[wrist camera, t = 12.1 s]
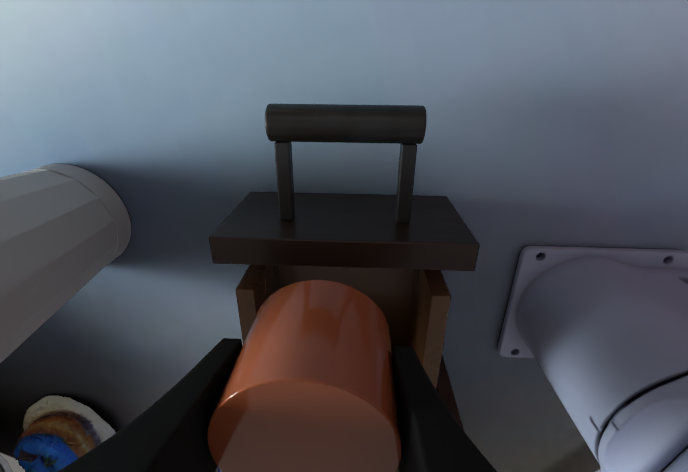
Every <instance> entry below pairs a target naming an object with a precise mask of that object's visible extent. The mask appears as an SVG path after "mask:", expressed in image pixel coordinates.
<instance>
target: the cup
mask: <svg viewBox="0 0 688 472" xmlns="http://www.w3.org/2000/svg"><path fill="white" fill-rule="evenodd" d="M130 236H131V223H130V218H129V215H128V212H127V210H126V207H125V205H124V204H123V202H122V200H121V199H120V197H119V196H118V195H117V193H116V192H115V191H114V190H113V189H112V188H111V187H110V186H109V185H108V184H107V183H106V182H105V181H103V180H102V179H101V178H99V177H98V176H96V175H95V174H93V173H91V172H89V171H87V170H85V169H83V168H80V167H77V166H73V165H68V164H50V165H46V166H43V167H39V168H36V169H33V170H29V171H26V172H23V173H18V174H13V175H8V176H3V177H0V363H1V362H2V361H3V360H5V359H6V358H7V357H8V356H9V355H10V354H11V353H12V352H13V351H14V350H15V349H16V348H17V347H19V346H20V345H21V344H22V343H23V342H24V341H25V340H26V339H27V338H28V337H29V336H30V335H32V334H33V333H34V332H35V331H36V330H37V329H38V328H39V327H40V326H41V325H42V324H43V323H44V322H46V321H47V320H48V319H49V318H50V317H51V316H52V315H53V314H54V313H55V312H56V311H57V310H59V309H60V308H61V307H62V306H63V305H64V304H65V303H66V302H67V301H68V300H69V299H70V298H71V297H73V296H74V295H75V294H76V293H77V292H78V291H79V290H80V289H81V288H82V287H83V286H84V285H86V284H87V283H88V282H89V281H90V280H91V279H92V278H93V277H94V276H95V275H96V274H97V273H98V272H100V271H101V270H102V269H103V268H104V267H105V266H106V265H108V264H109V263H110V262H112V261H113V260H114V259H115V258H117V257H118V256H119V255H121V254H122V253H123V252H124V250H125V249H126V247H127V246H128V243H129V241H130Z"/></svg>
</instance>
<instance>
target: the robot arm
mask: <svg viewBox="0 0 688 472" xmlns="http://www.w3.org/2000/svg"><path fill="white" fill-rule="evenodd" d="M539 253H542V255H541V256H540V257H537V258H536V256H537V254H539ZM667 256H668V257H667ZM666 257H667V259H665V260H664V258H666ZM663 260H664V261H663ZM241 348H242V342H241V339H228V338H224V339H222V340H221V341H220V342H219V343H218V344H217V345H216V346H215V347H214V348H213V349H212V350H211V351H210V352H209V353H208V354H207V355H206V356H205V357H204V358H203V359H202V360H201V361H200V362H199V363H198V364H197V365H196V366H195V367H194V368H193V369H192V370H191V371H190V372H189V373H187V374H186V375H185V376H184V377H183V378H182V379H181V380H180V381H179V382H178V383H177V384H176V385H175V386H174V387H172V388H171V389H170V390H169V391H168V392H167V393H166V394H164V395H163V396H162V397H161V398H160V399H159V400H158V401H156V402H155V403H154V404H153V405H152V406H151V407H149V408H148V409H147V410H146V411H144V412H143V413H142V414H141V415H139V416H138V417H137V418H136V419H134V420H133V421H132V422H130V423H129V424H128V425H126V426H125V427H124V428H122V429H121V430H120V431H118V432H117V433H116V434H114V435H113V436H111V437H110V438H108V439H107V440H105V441H104V442H102V443H101V444H99V445H98V446H96V447H95V448H93V449H92V450H90V451H89V452H87V453H86V454H84V455H83V456H82V457H80V458H78V459H77V460H75V461H74V462H72V463H70V464H69V465H67V466H66V467H64V468H62V469H61V470H59V471H57V472H216V469H217V467H218V466H217V465H216V463H215V462H214V460H213V458H212V456H211V453H210V450H209V447H208V439H207V434H208V426H209V423H210V419H211V417H212V415H213V412H214V410H215V408H216V406H217V403H218V401H219V399H220V396H221V394H222V392H223V390H224V387H225V385H226V383H227V380H228V378H229V376H230V374H231V371H232V369H233V367H234V364H235V362H236V360H237V358H238V355H239V353H240V351H241ZM513 349H516V350H514V351H512V350H513ZM498 352H499V354H500V355H501V356H502V357H515V358H535V359H536V361H537V362H538V364H539V366H540V367H541V369H542V371H543V372H544V374H545V376H546V377H547V379H548V381H549V382H550V384H551V385H552V387H553V389H554V390H555V392H556V394H557V395H558V397H559V399H560V400H561V402H562V404H563V405H564V407H565V409H566V410H567V412H568V413H569V415H570V417H571V418H572V420H573V422H574V423H575V425H576V427H577V428H578V430H579V432H580V433H581V435H582V437H583V438H584V440H585V441H586V443H587V445H588V446H589V448H590V450H591V451H592V453H593V455H594V456H595V458H596V460H597V461H598V463H599V464H600V467H601V471H600V472H688V250H668V249H631V248H593V247H556V246H527V247H525V248H524V249H523V250H522V251H521V253H520V257H519V261H518V265H517V269H516V274H515V278H514V282H513V286H512V290H511V294H510V298H509V302H508V307H507V311H506V315H505V319H504V323H503V327H502V331H501V335H500V340H499V344H498ZM393 367H394V376H395V385H396V394H397V403H398V413H399V422H400V432H401V441H402V457H401V462H400V465H399V467H398V469H399V472H497V471H496V470H495V469H494V468H493V466H492V465H491V464H490V463H489V462H488V461H487V459H486V458H485V457H484V456H483V455H482V454H481V452H480V451H479V450H478V449H477V447H476V446H475V445H474V444H473V442H472V441H471V440H470V439H469V437H468V436H467V435H466V433H465V432H464V431H463V429H462V428H461V427H460V425H459V424H458V422H457V421H456V420H455V418H454V417H453V415H452V414H451V412H450V411H449V409H448V408H447V406H446V405H445V403H444V402H443V400H442V399H441V397H440V395H439V394H438V392H437V391H436V389H435V387H434V386H433V384H432V382H431V381H430V379H429V377H428V375H427V373H426V372H425V370H424V368H423V366H422V364H421V362H420V360H419V358H418V356H417V354H416V351H415V349H414V348H413V347H404V346H394V350H393Z"/></svg>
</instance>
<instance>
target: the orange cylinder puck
mask: <svg viewBox="0 0 688 472" xmlns="http://www.w3.org/2000/svg"><path fill="white" fill-rule="evenodd" d="M207 439H208V447H209V450H210V453H211V456H212V458H213V460H214V462H215V463H216V465H217V466H218V467H219V469H220V470H221V471H222V472H397V470H398V467H399V465H400V462H401V457H402V441H401V432H400V422H399V413H398V403H397V394H396V385H395V376H394V367H393V356H392V347H391V337H390V330H389V326H388V323H387V320H386V318H385V316H384V314H383V313H382V311H381V310H380V308H379V307H378V306H377V305H376V304H375V303H374V302H373V301H372V300H371V299H370V298H369V297H368V296H366V295H365V294H363V293H362V292H360V291H359V290H357V289H355V288H353V287H350V286H348V285H345V284H342V283H339V282H334V281H328V280H307V281H301V282H297V283H293V284H290V285H288V286H285V287H283V288H281V289H280V290H278V291H276V292H275V293H273V294H272V295H271V296H270V297H269V298H268V299H267V300H266V301H265V302H264V303H263V304H262V306H261V307H260V308H259V310H258V312H257V314H256V316H255V319H254V321H253V323H252V326H251V328H250V330H249V332H248V335H247V337H246V339H245V342H244V344H243V346H242V348H241V351H240V353H239V355H238V358H237V360H236V362H235V364H234V367H233V369H232V371H231V374H230V376H229V378H228V380H227V383H226V385H225V387H224V390H223V392H222V394H221V396H220V399H219V401H218V403H217V406H216V408H215V410H214V412H213V415H212V417H211V419H210V423H209V426H208V434H207Z"/></svg>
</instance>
